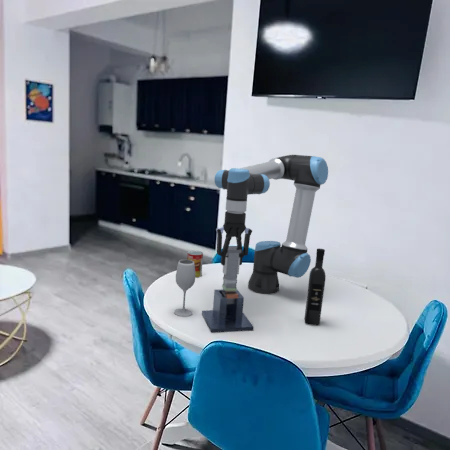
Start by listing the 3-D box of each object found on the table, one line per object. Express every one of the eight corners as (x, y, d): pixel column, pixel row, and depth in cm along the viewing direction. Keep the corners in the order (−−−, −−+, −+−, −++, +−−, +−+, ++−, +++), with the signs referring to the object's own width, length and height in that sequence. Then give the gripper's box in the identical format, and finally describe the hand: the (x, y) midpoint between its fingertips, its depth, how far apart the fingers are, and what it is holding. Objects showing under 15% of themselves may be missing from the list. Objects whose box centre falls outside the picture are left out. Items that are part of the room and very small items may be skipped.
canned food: (185, 272, 208) (186, 250, 206) (200, 272, 210) (201, 250, 208) (187, 277, 200) (188, 254, 198) (202, 277, 202) (204, 254, 200)
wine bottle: (319, 326, 156) (329, 252, 151) (304, 324, 157) (314, 250, 151) (318, 320, 162) (327, 248, 156) (303, 318, 163) (312, 246, 157)
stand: (240, 312, 164) (242, 282, 161) (253, 330, 149) (256, 298, 146) (201, 314, 159) (203, 283, 157) (211, 332, 144) (213, 299, 142)
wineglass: (196, 311, 162) (199, 260, 158) (188, 318, 155) (191, 266, 151) (178, 307, 164) (181, 257, 160) (170, 314, 157) (173, 262, 153)
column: (232, 299, 155) (237, 246, 151) (236, 304, 151) (241, 249, 146) (219, 299, 154) (224, 246, 150) (223, 304, 149) (227, 249, 145)
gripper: (254, 210, 151) (249, 269, 156) (210, 209, 147) (206, 270, 151) (261, 214, 144) (255, 276, 149) (215, 212, 140) (210, 277, 144)
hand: (230, 273), depth 150 cm, fingers closed on column, 4 cm apart
